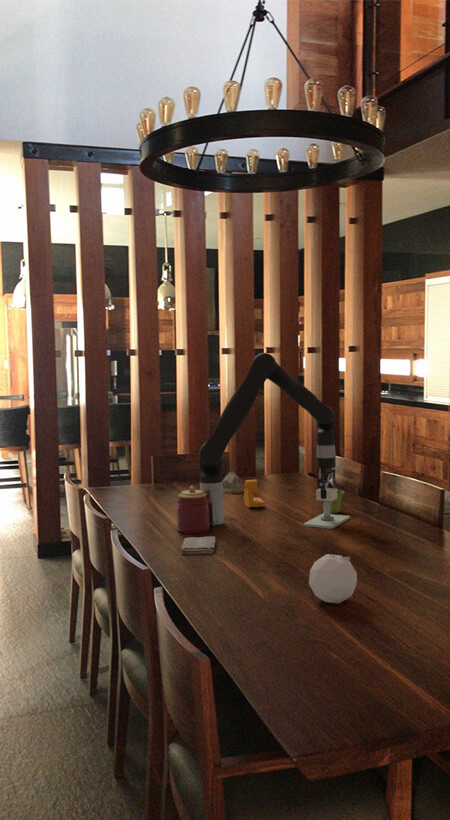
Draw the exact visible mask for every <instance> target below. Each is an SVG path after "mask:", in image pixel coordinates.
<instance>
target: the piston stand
mask: <svg viewBox="0 0 450 820" xmlns="http://www.w3.org/2000/svg"><path fill="white" fill-rule="evenodd" d="M349 519H351V516H350V515H343V514H335V513H331V507H330V502H323V513H321V514H319V515H317V516H315V517H314V518H312V519H309V520H308V521H305V522H304V523H303V527H308V528H309V527H311V528H318V529H320V528H321V529H329V530H331V529H332V530H333V529H334V528H336V527H337V526H339V525H341V524H343V523H344V522H346V521H348V520H349Z"/></svg>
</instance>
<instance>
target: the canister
mask: <svg viewBox="0 0 450 820" xmlns="http://www.w3.org/2000/svg"><path fill="white" fill-rule="evenodd" d="M206 495H207V494H206V493H204V492H203V491H201V490H200V489H196V487H195V486H194V485H190V486H189V487H188V490H186V489H185V490H183V491H181V492H180V493H179V494H178V495H177V497H178V499H176V501H175V503H176V504H177V508H176V522H177V523H176V528H177V531H178V532H179V531H180V532H179V533H181V532H186V533H185V534H190V533H191V534H201V533H207V532H208V531H210V528H211V526H210V523H209V507H208V502H209V499H208V498H206Z"/></svg>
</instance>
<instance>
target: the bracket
mask: <svg viewBox="0 0 450 820" xmlns="http://www.w3.org/2000/svg"><path fill="white" fill-rule="evenodd" d="M243 490H244V492H243V503H244V506H245V505H246V506H247V507H248V508H249V509H251V507H253V508H264V507H265V500H263V499H262V498H260V497H254V493H255V492H258V480H257V479H246V480H245V479H244V488H243ZM246 506H245V507H246ZM247 507H246V508H247ZM248 508H247V509H248Z"/></svg>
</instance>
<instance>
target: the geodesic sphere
mask: <svg viewBox="0 0 450 820" xmlns="http://www.w3.org/2000/svg"><path fill="white" fill-rule="evenodd" d="M350 561H351V556H345V557H343V555H339V554H337V555H336V554H327V553H326V554H325V555H324V556H322V557H320V558H319V559H317V560H316V561H315V562H314V563H313V565H312V566H311V568H310V570H309V579H308V586H309V587H310V589H311V590H312V592H313V594H314V595H315V597H316V598H318V599H320V600H322V601H324V602H325V603H329V604H332V603H333V604H341V603H342V602H344V601H345V600H347V599H349V598H350V597H352V596H353V593H354V592H355V590H356V587H357V581H358V580H357V579H358V573H357V571H356V569H355V568H354V565H352V563H351V562H350Z"/></svg>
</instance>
